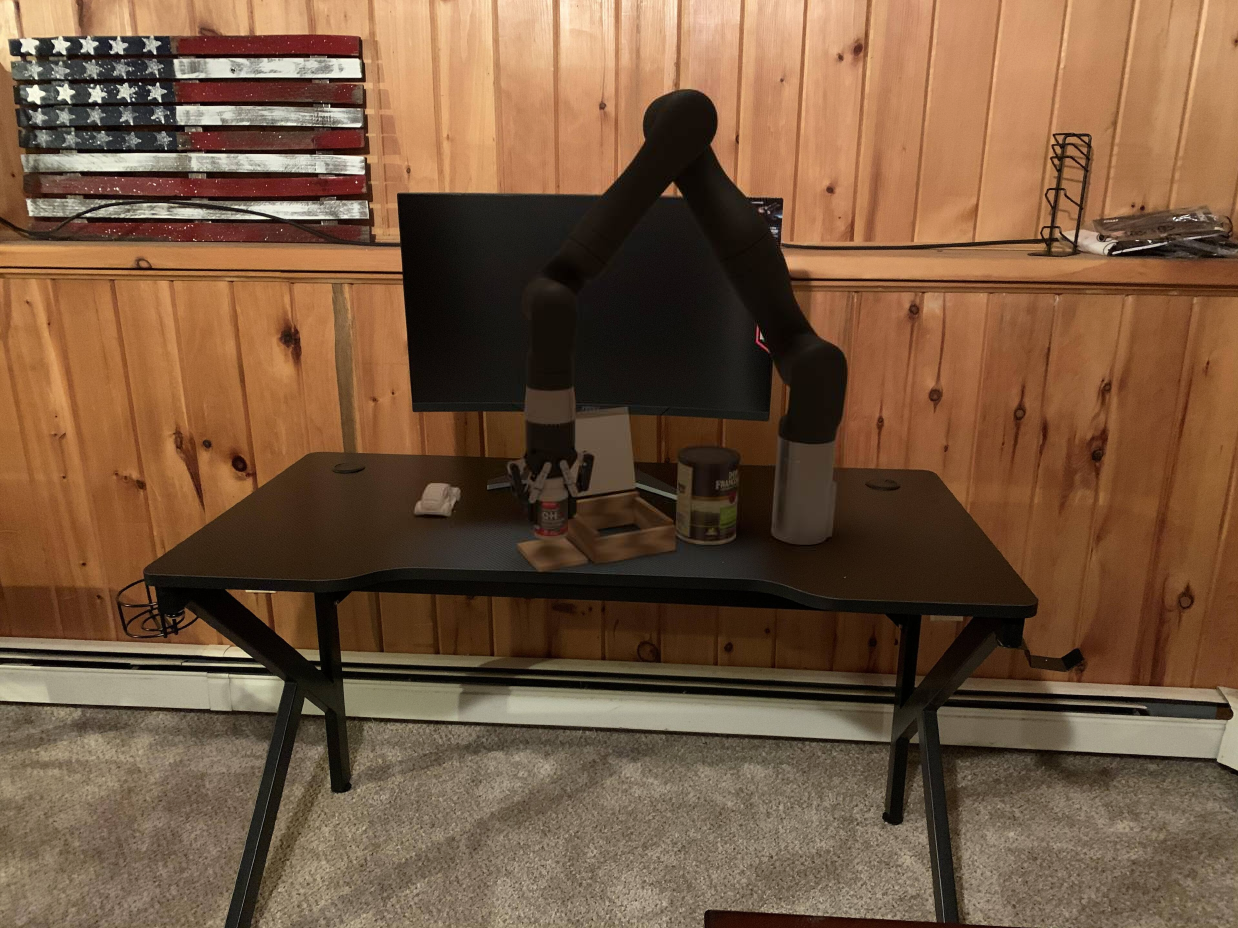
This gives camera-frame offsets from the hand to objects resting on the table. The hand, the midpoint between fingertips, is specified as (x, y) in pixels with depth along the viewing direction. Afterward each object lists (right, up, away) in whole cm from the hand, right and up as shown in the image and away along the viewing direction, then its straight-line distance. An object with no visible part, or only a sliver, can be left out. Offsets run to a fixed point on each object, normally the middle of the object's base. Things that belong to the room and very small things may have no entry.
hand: (551, 520), depth 143 cm
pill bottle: (0, -3, +1) cm, 3 cm away
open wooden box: (+10, -4, +8) cm, 13 cm away
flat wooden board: (0, -6, +2) cm, 6 cm away
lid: (+6, +11, +12) cm, 17 cm away
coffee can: (+25, -3, +12) cm, 28 cm away
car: (-22, +1, +22) cm, 31 cm away
